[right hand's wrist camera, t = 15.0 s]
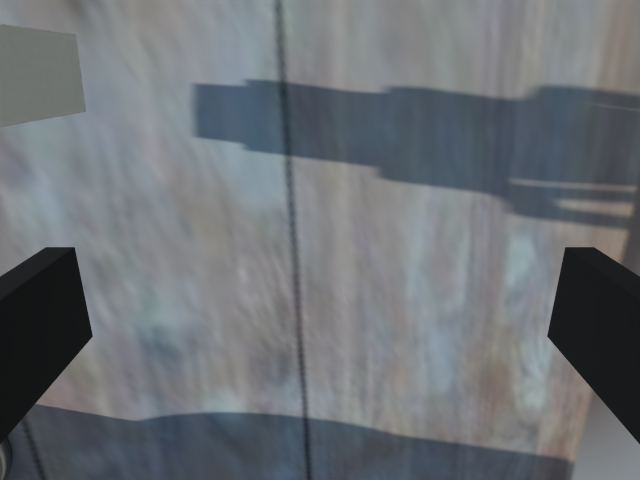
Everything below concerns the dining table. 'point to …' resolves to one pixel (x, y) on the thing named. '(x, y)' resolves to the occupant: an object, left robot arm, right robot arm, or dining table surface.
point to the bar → (38, 75)
